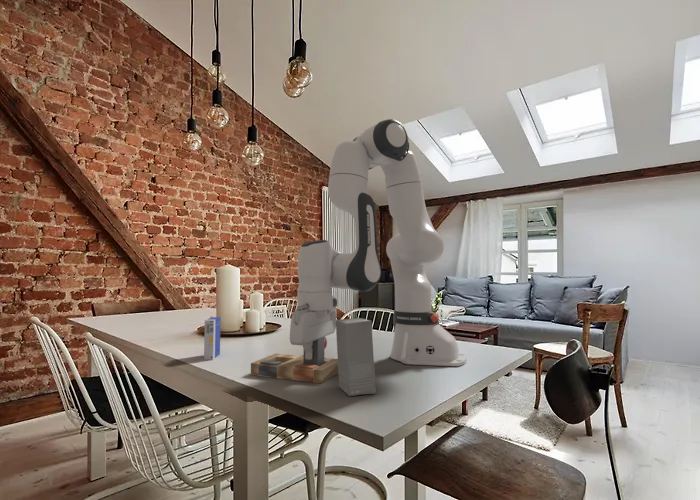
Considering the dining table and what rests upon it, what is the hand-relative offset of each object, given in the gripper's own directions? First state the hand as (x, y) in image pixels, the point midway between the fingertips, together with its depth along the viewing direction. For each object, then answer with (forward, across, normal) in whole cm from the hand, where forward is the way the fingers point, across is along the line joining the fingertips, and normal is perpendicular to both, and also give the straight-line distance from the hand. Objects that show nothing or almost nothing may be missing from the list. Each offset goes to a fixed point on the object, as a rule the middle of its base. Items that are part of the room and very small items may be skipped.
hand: (314, 356), depth 100 cm
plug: (+3, 0, 0) cm, 3 cm away
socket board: (+5, 0, +5) cm, 7 cm away
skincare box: (+5, -8, -14) cm, 17 cm away
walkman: (+5, +7, +38) cm, 39 cm away
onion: (+5, +21, +9) cm, 23 cm away
